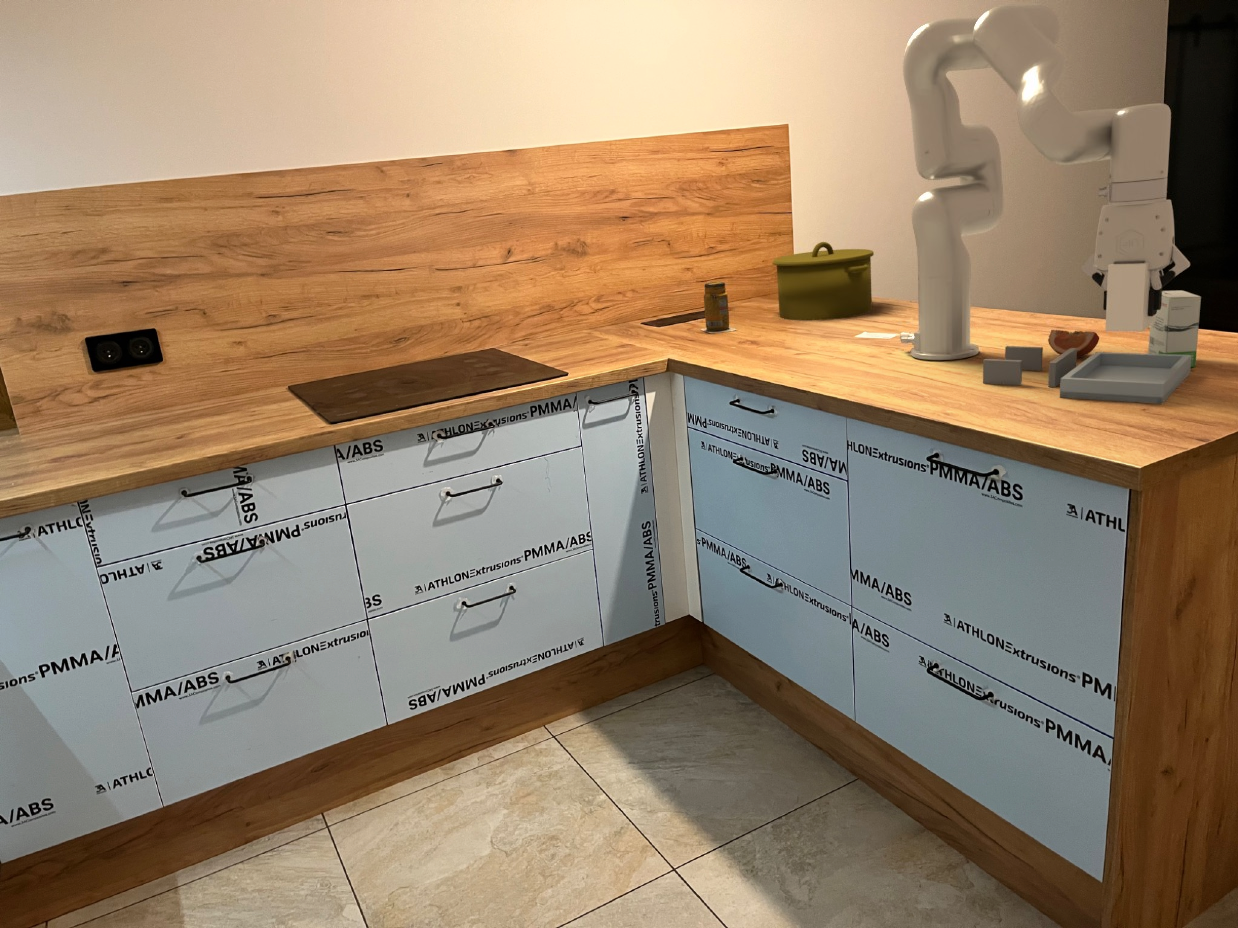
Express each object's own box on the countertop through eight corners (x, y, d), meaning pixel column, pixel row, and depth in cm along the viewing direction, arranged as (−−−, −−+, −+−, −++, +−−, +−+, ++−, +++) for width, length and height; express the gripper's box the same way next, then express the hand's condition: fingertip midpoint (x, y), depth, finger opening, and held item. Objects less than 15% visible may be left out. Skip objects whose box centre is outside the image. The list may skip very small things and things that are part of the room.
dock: (983, 383, 156) (983, 360, 155) (1006, 368, 165) (1007, 346, 164) (1054, 387, 149) (1055, 363, 148) (1075, 371, 157) (1076, 348, 156)
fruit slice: (1040, 358, 169) (1041, 331, 168) (1062, 351, 173) (1063, 325, 171) (1084, 363, 162) (1085, 335, 161) (1105, 356, 166) (1107, 328, 164)
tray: (1059, 397, 143) (1060, 378, 142) (1095, 369, 157) (1096, 352, 156) (1162, 404, 134) (1163, 384, 133) (1189, 373, 148) (1191, 355, 147)
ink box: (1197, 367, 151) (1203, 295, 148) (1164, 369, 152) (1169, 298, 149) (1177, 357, 159) (1182, 288, 156) (1146, 359, 160) (1150, 290, 157)
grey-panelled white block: (1105, 331, 141) (1108, 263, 138) (1120, 321, 147) (1123, 256, 145) (1142, 331, 138) (1145, 262, 135) (1155, 321, 144) (1159, 254, 141)
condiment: (726, 326, 241) (723, 280, 237) (737, 330, 233) (734, 282, 229) (699, 330, 239) (696, 283, 236) (710, 334, 231) (706, 286, 228)
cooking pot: (751, 316, 252) (747, 248, 246) (824, 301, 263) (821, 236, 258) (826, 325, 226) (822, 249, 221) (902, 308, 238) (901, 235, 232)
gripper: (1068, 200, 140) (1065, 319, 145) (1198, 190, 129) (1190, 319, 134) (1082, 195, 145) (1079, 311, 150) (1209, 186, 134) (1200, 310, 139)
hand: (1131, 313), depth 142 cm, fingers closed on grey-panelled white block, 5 cm apart
